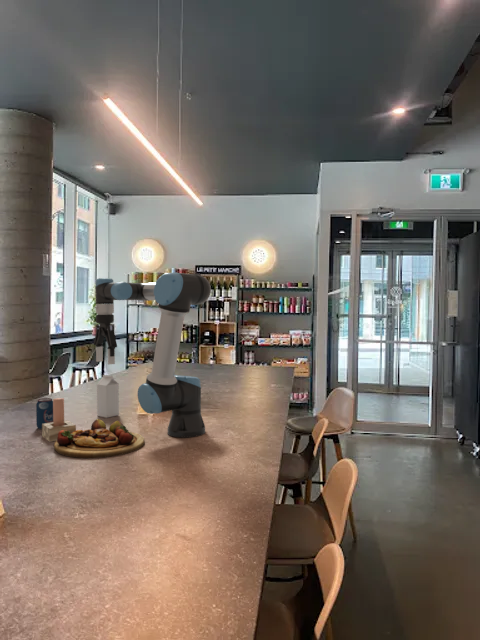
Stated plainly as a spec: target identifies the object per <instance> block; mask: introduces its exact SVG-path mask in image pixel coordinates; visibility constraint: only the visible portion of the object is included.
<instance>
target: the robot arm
mask: <svg viewBox="0 0 480 640" xmlns="http://www.w3.org/2000/svg"><path fill="white" fill-rule="evenodd" d="M94 287H95V305H94V309H95V313H96V315H95V323H96V327H95V328H96V330H95V335H94V341H93V346H95V352H96V353H95V354H96V356H95V357H96V358H95V361H96V362H97V363H98V362H103V361H104V359H103V358H104V354H103V351H104V349H103V347H104V345H103V342H104V340H106V344H107V365H115V364H116V361H115V359H116V358H115V357H116V353H115V352H116V351H115V350H116V348H118V345H117V344H118V343H117V339H116V334H115V326H114V325H112V324H113V323H114V322H115V315H114V313H115V303H114V301H149V302H150V301H155V302H156V303H157V304H158V306H157V307H158V309H159V310H160V312H161V313H160V320H159V324H158V331H157V337H156V344H155V350H154V355H153V361H152V368H151V372H150V373H148V374H147V375H146V381H145V383H142V384H140V385H139V386H138V389H137V401H138V403H139V406H140V408H141V409H142V410H143V412H145V413H146V414H150V415H154V414H157V415H158V414H161V413H165V412H170V411H171V416H170V420H169V423H168V426H167V434H168V436H171V437H174V438H195V437H200V436H203V435H204V434H206V424H205V421H204V418H203V417H202V416H203V415H202V406H201V405H202V403H201V402H202V391H201V390H202V387H201V379H200V378H199V377H197V376H190V375H177V374H175V373H176V367H177V361H178V355H179V350H180V343H181V337H182V332H183V326H184V323H185V322H184V320H185V316H186V315H187V314H189V313H190V310H191V306H196V305H202V304H204V303H205V302H207V300H208V299H209V298H210V296H211V292H212V287H211V283H210V281H209V280H208V279H207V278H206V277H205V276H203V275H201V274H198V273H186V272H185V273H183V272H165V273H163V274H161V276H159V277H158V278H157V280H156V281H155V282H143V283H142V282H127V281H117V282H114V279H113V278H109V277H107V278H106V277H105V278H103V277H102V278H101V277H100V278H97V279H95V286H94Z"/></svg>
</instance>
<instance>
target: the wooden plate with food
mask: <svg viewBox="0 0 480 640" xmlns="http://www.w3.org/2000/svg"><path fill="white" fill-rule="evenodd" d="M144 445H145V438H144V436H142V435H141V434H140V433H136V432H133V431H130V430H128V428H127V427H126V426H125V424H123V422H121V421H119V420H116V421H113V422H112V423H111V424H110V425H109V427H108V429H107V426H106V423H105V421H103V420H102V419H100V418H96V419H95V420H94V421H93V422H92V424H91V425H90V429H88V428H87V429H86V430H85V429H84V430H83V429H76V431H74V432H73V433H71V432H70V431H66V430H61V431H60V432H59V433H58V437H57V441H54V445H53V448H54V450H55V452H56V453H58V454H60V455H62V456H65V457H70V458H77V459H80V458H81V459H101V458H109V457H110V458H111V457H117V456H122V455H125V454H130V453H132V452H135V451H137V450H139V449H141V448H142V447H143V446H144Z"/></svg>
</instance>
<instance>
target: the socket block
mask: <svg viewBox="0 0 480 640" xmlns="http://www.w3.org/2000/svg"><path fill="white" fill-rule="evenodd" d="M61 430H66V431H70V432H71V433H73V432H74V431H76V430H77V425H76V424H75V423H73V422H71V421H70V420H68V419H67V420H64V425H62V426H56V427H53V422H52V423H44V424H42V429H41V434H42V435H41V437H42V438H44V439H45V440H46V441H48V442H49V443H51V442H56V441H57V437H58V433H59V432H60V431H61Z"/></svg>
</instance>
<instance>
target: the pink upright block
mask: <svg viewBox="0 0 480 640" xmlns="http://www.w3.org/2000/svg"><path fill="white" fill-rule="evenodd" d="M52 401H53V427H56V426H62V425H64V421H65V398H63V397H58V398H57V397H55V398H52Z"/></svg>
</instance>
